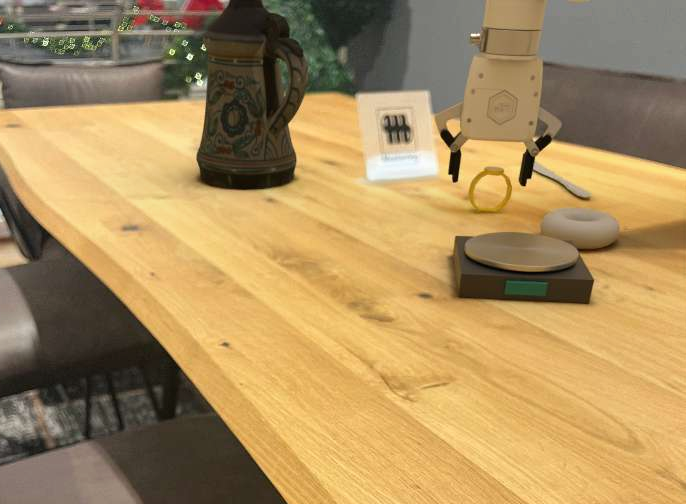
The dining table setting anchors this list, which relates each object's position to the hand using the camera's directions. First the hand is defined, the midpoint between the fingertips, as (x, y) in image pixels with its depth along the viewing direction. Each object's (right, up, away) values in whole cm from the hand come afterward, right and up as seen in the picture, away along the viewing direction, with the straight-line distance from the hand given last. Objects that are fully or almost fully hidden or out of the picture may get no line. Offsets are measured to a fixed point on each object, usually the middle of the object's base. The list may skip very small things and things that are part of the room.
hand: (488, 182), depth 110 cm
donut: (+10, -12, -9) cm, 18 cm away
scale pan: (-2, -18, -23) cm, 29 cm away
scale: (-2, -20, -21) cm, 29 cm away
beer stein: (-35, +8, +18) cm, 40 cm away
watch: (0, -4, +2) cm, 4 cm away
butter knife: (+16, +8, +19) cm, 26 cm away
